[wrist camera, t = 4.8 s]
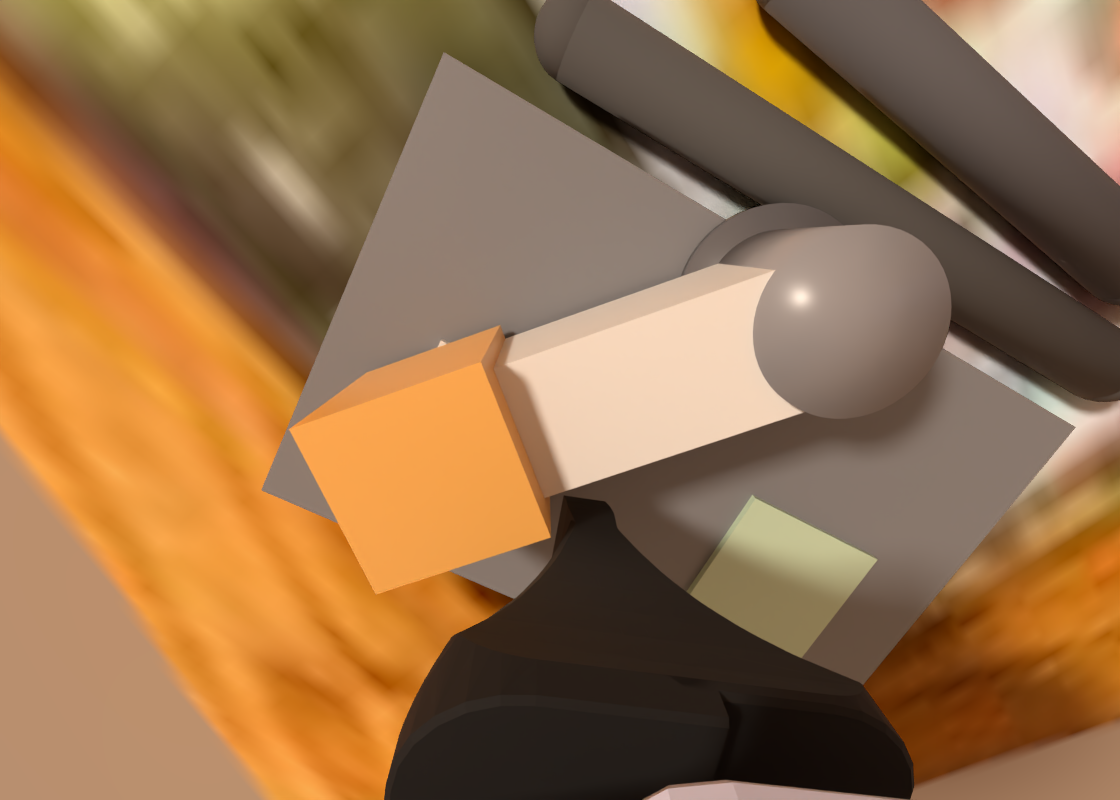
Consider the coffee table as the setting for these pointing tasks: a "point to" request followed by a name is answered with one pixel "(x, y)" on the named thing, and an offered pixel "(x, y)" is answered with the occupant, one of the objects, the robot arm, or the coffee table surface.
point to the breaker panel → (701, 473)
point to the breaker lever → (619, 392)
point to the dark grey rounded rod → (971, 126)
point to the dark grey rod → (816, 182)
